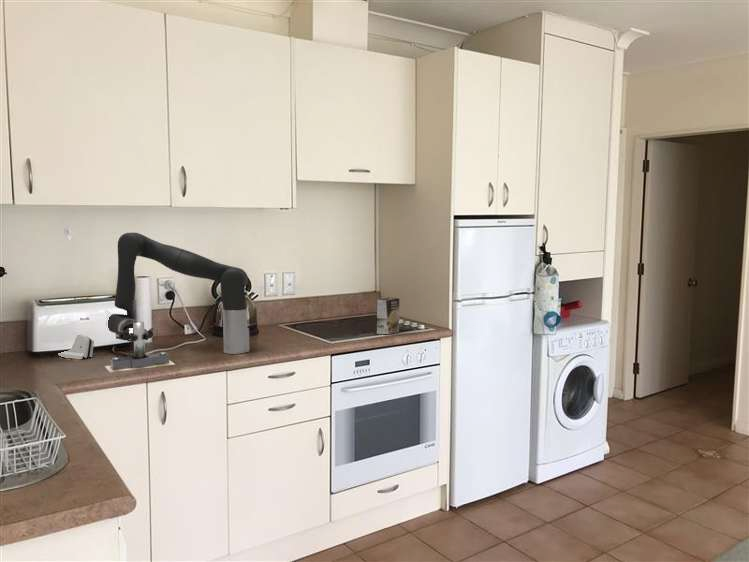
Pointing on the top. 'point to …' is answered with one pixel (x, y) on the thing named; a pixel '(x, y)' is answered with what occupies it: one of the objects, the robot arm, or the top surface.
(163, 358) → the grey notched block
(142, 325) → the link pin
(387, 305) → the coffee box
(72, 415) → the top surface
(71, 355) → the hinge
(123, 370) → the board
